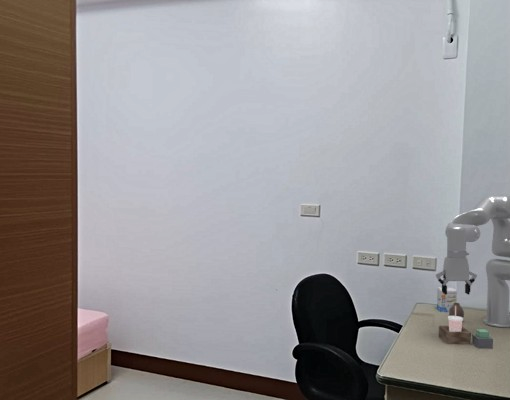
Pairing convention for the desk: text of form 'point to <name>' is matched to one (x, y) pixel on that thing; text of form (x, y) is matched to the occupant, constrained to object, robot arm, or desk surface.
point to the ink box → (446, 299)
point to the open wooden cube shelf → (454, 336)
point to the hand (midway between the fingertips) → (456, 293)
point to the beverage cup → (455, 323)
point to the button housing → (482, 342)
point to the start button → (482, 333)
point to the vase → (458, 310)
